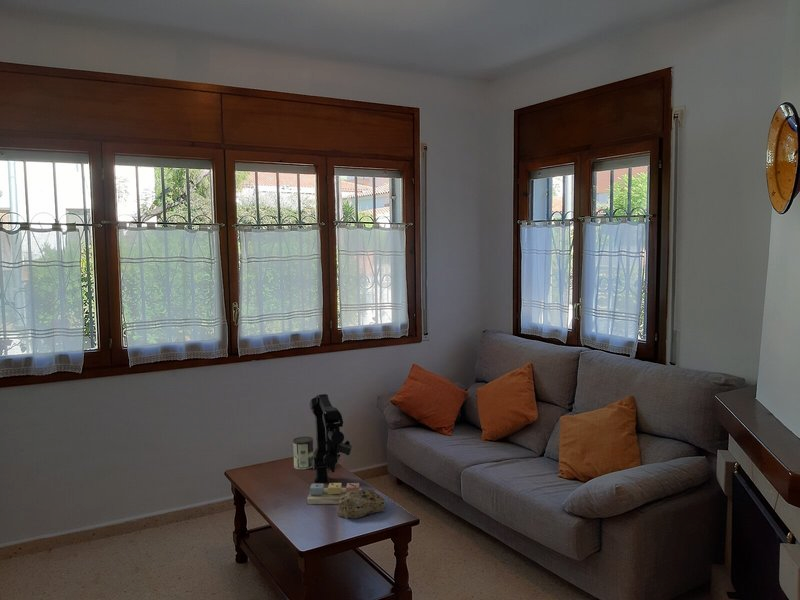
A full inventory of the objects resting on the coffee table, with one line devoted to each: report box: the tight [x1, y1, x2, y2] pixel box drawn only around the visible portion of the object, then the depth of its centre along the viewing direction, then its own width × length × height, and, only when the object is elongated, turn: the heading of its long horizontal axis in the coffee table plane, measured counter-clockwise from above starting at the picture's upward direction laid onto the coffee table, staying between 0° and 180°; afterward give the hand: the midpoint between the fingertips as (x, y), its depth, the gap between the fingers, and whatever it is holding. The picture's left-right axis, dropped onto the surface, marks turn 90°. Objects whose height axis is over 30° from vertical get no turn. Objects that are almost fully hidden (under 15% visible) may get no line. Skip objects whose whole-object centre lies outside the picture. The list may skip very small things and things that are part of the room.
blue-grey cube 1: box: [309, 483, 325, 495], centre depth 290 cm, size 6×6×6 cm
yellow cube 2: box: [327, 482, 343, 495], centre depth 290 cm, size 6×6×6 cm
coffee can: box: [292, 436, 314, 470], centre depth 333 cm, size 10×10×14 cm
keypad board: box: [306, 487, 363, 505], centre depth 290 cm, size 12×23×2 cm, turn 89°
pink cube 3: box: [345, 482, 360, 494], centre depth 290 cm, size 6×6×6 cm
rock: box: [337, 488, 386, 520], centre depth 275 cm, size 21×14×10 cm
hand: (333, 472), depth 290 cm, fingers closed
